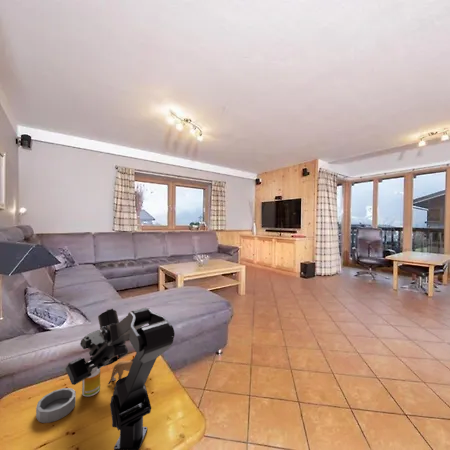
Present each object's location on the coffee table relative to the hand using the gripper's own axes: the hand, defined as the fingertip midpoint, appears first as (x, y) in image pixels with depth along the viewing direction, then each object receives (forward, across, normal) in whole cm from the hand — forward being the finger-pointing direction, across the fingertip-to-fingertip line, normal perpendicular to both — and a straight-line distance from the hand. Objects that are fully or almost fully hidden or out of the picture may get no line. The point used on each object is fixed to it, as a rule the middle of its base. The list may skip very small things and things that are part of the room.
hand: (89, 370), depth 80 cm
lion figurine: (0, -12, +9) cm, 15 cm away
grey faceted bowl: (+5, +10, +5) cm, 12 cm away
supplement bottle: (+4, 0, +6) cm, 7 cm away
